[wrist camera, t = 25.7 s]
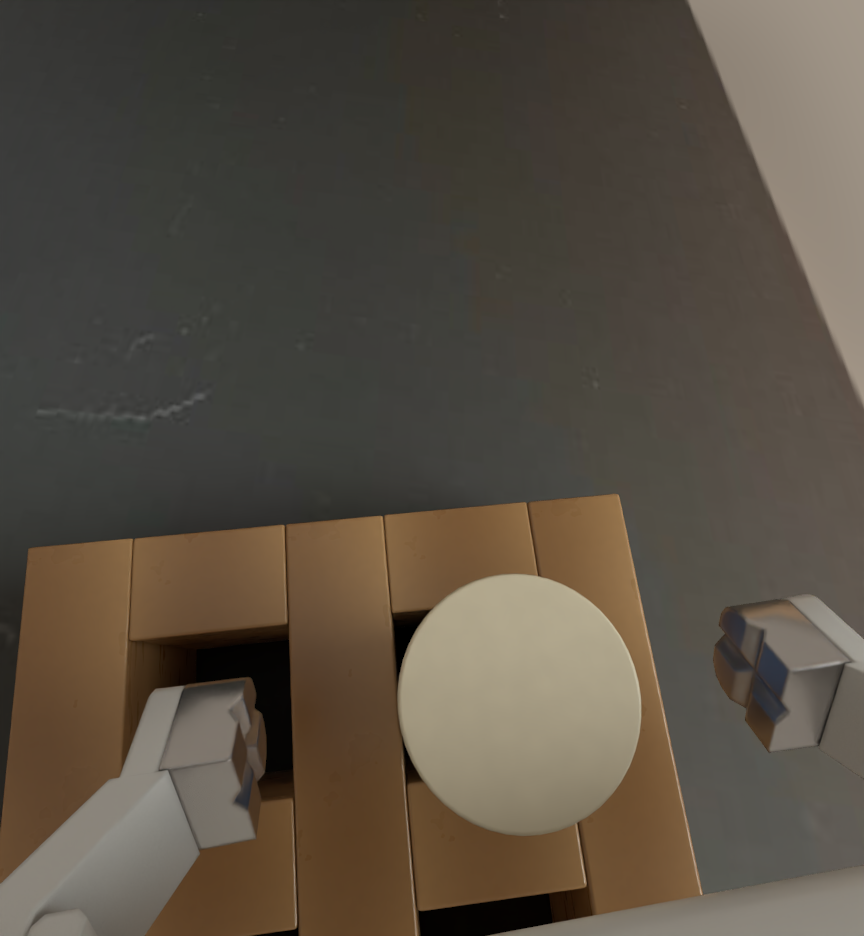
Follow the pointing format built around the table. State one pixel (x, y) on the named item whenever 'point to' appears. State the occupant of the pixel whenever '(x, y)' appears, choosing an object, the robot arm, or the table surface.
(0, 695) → the table surface
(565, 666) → the peg
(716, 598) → the table surface
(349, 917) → the stand
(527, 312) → the table surface
